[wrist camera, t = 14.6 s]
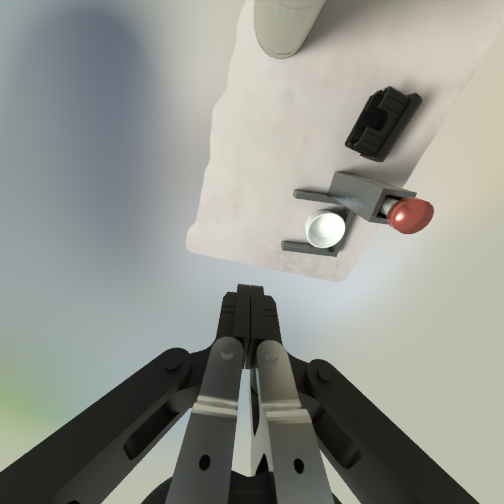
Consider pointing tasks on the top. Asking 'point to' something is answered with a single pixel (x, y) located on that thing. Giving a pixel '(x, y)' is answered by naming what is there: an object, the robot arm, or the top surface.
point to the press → (349, 205)
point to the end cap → (382, 123)
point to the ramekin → (324, 228)
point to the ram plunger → (407, 214)
